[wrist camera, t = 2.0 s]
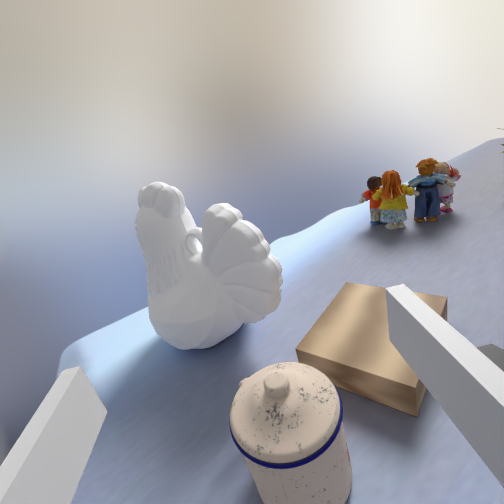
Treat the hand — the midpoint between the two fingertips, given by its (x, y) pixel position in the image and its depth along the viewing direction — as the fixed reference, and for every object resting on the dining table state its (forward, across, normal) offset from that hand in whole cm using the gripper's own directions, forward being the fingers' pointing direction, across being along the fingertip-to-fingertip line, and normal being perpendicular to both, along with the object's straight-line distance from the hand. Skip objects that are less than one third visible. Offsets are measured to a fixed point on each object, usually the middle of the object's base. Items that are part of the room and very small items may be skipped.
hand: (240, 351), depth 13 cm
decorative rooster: (+30, -6, -21) cm, 37 cm away
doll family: (+52, +38, -20) cm, 67 cm away
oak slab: (+20, +13, -21) cm, 32 cm away
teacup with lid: (+9, 0, -21) cm, 23 cm away
